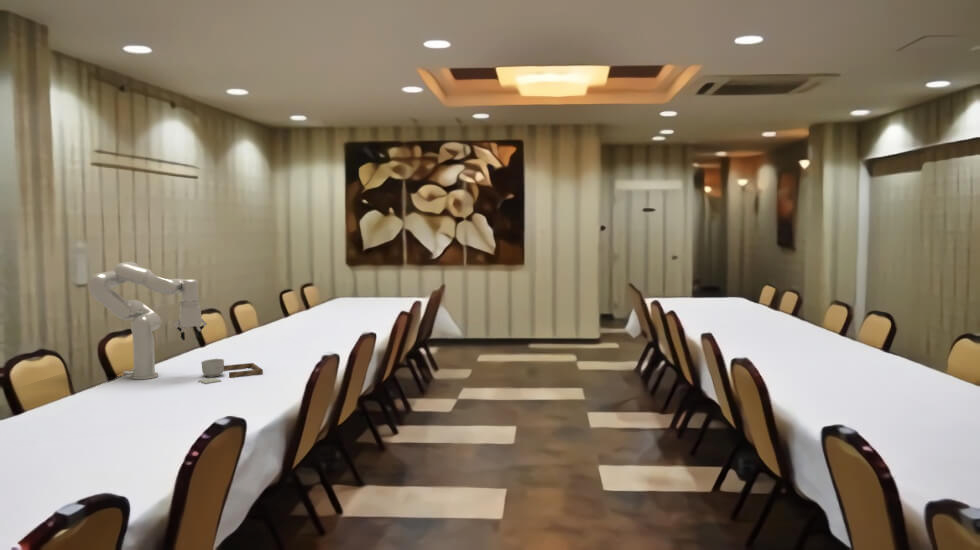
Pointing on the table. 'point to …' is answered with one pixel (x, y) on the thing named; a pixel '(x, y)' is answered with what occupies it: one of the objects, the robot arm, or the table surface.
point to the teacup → (213, 367)
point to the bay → (255, 371)
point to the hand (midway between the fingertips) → (190, 339)
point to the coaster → (209, 381)
